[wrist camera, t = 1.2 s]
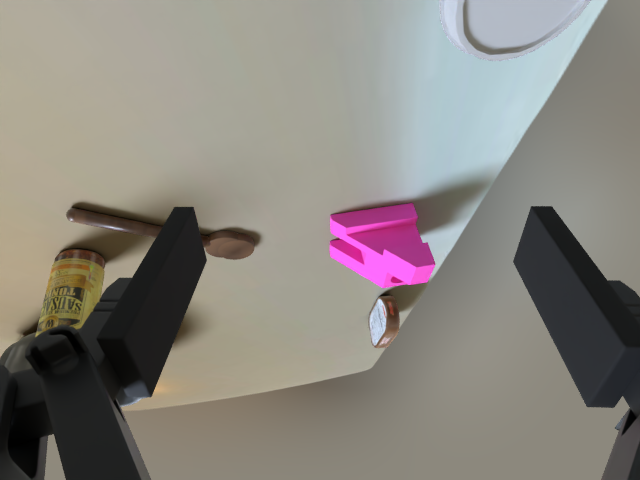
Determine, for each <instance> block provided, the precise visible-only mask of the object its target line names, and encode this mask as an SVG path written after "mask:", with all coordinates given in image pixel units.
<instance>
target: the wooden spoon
mask: <svg viewBox="0 0 640 480" xmlns="http://www.w3.org/2000/svg"><path fill="white" fill-rule="evenodd" d="M66 216H67V219H68V220H69V221H71V222H76V223H81V224H86V225H91V226H96V227H101V228H107V229H112V230H117V231H122V232H127V233H132V234H138V235H143V236H148V237H153V238H156V237H157V236H158V234H159V232H160V231H161V229H162V227H161V226H156V225H151V224H147V223H142V222H137V221H132V220H128V219H123V218H118V217H113V216H109V215H104V214H99V213H94V212H90V211H85V210H80V209H75V208H73V209H70V210H68V212H67V214H66ZM201 239H202V243H203V247H205V248H206V251H207V253H209V254H210V255H212V256H215V257H223V258H226V259H233V260H235V259H242V258H245V257H248V256H250V255H251V254H252V253H253V251H254V241H253V239H252V238H251V237H250V236H248V235H245V234H240V233H236V232H232V231H218V232H214V233H212V234H210V235H209V236H204V235H201Z"/></svg>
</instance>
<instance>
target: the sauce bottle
mask: <svg viewBox="0 0 640 480" xmlns="http://www.w3.org/2000/svg"><path fill="white" fill-rule="evenodd" d="M104 267H105V262H104V259H103V257H101V256H100V255H99V254H97V253H95V252H92V251H88V250H82V249H71V250H66V251H64V252H61V253H60V254H58V256H57V257H56V258H55V262H54V264H53V265H52V269H51V273H50V277H49V281H48V286H47V290H46V294H45V299H44V303H43V307H42V311H41V316H40V320H39V324H38V328H37V332H36V336H37V335H39V334H41V333H42V332H44V331H46V330H48V329H51V328H54V327H57V326H71V327H74V328H75V329H76V330H77V331H78V332H79V330H80V329H81V327H82V325H83V324H84V322H85V321H86V319H87V318H88V316H89V315H90V313H91V312H93V309H94V307H95V306H96V304H97V302H99V299H100V298H101V291H102V285H103V279H104ZM36 336H35V337H36Z"/></svg>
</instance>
